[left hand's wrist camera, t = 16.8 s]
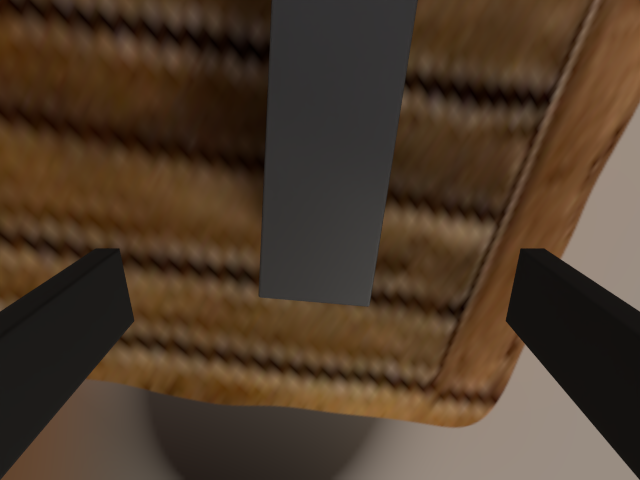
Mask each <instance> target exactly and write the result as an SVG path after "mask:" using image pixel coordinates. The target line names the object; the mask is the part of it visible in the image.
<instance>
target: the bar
mask: <svg viewBox="0 0 640 480" xmlns="http://www.w3.org/2000/svg"><path fill="white" fill-rule="evenodd" d="M417 2H418V0H272V6H271V28H270V51H269V73H268V96H267V119H266V141H265V164H264V187H263V209H262V232H261V255H260V277H259V297H262V298H274V299H285V300H297V301H309V302H321V303H332V304H344V305H356V306H367V307H368V306H369V305H370V299H371V293H372V287H373V280H374V274H375V268H376V261H377V255H378V249H379V243H380V236H381V230H382V224H383V217H384V211H385V205H386V198H387V192H388V186H389V179H390V173H391V167H392V160H393V154H394V148H395V141H396V135H397V129H398V122H399V116H400V110H401V103H402V97H403V91H404V84H405V78H406V72H407V65H408V59H409V53H410V46H411V40H412V34H413V27H414V21H415V15H416V8H417Z"/></svg>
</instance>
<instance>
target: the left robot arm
mask: <svg viewBox="0 0 640 480" xmlns="http://www.w3.org/2000/svg"><path fill="white" fill-rule="evenodd" d="M133 322H134V317H133V312H132V307H131V303H130V298H129V293H128V288H127V283H126V278H125V274H124V269H123V264H122V259H121V254H120V249H94V250H93V251H91V252H90V253H88V254H87V255H85V256H84V257H82V258H81V259H79V260H78V261H76V262H75V263H73V264H72V265H70V266H69V267H67V268H66V269H64V270H63V271H61V272H60V273H58V274H57V275H55V276H54V277H52V278H50V279H49V280H47V281H46V282H44V283H43V284H41V285H40V286H38V287H37V288H35V289H34V290H32V291H31V292H29V293H28V294H26V295H25V296H23V297H22V298H20V299H19V300H17V301H16V302H14V303H13V304H11V305H10V306H8V307H7V308H5V309H4V310H2V311H0V479H1V478H2V477H3V476H4V475H5V474H6V472H7V471H8V470H9V469H10V468H11V467H12V465H13V464H14V463H15V462H16V461H17V459H18V458H19V457H20V456H21V455H22V453H23V452H24V451H25V450H26V449H27V448H28V446H29V445H30V444H31V443H32V442H33V440H34V439H35V438H36V437H37V436H38V434H39V433H40V432H41V431H42V430H43V429H44V427H45V426H46V425H47V424H48V423H49V421H50V420H51V419H52V418H53V417H54V415H55V414H56V413H57V412H58V411H59V410H60V408H61V407H62V406H63V405H64V404H65V402H66V401H67V400H68V399H69V398H70V396H71V395H72V394H73V393H74V392H75V391H76V389H77V388H78V387H79V386H80V385H81V384H82V382H83V381H84V380H85V379H86V378H87V376H88V375H89V374H90V373H91V372H92V370H93V369H94V368H95V367H96V366H97V365H98V363H99V362H100V361H101V360H102V359H103V357H104V356H105V355H106V354H107V353H108V351H109V350H110V349H111V348H112V347H113V346H114V344H115V343H116V342H117V341H118V340H119V338H120V337H121V336H122V335H123V334H124V333H125V331H126V330H127V329H128V328H129V327H130V325H131V324H132V323H133ZM506 322H507V323H508V324H509V325H510V327H511V328H512V329H513V330H514V331H515V333H516V334H517V335H518V336H519V337H520V338H521V340H522V341H523V342H524V343H525V344H526V346H527V347H528V348H529V349H530V350H531V351H532V353H533V354H534V355H535V356H536V357H537V359H538V360H539V361H540V362H541V363H542V365H543V366H544V367H545V368H546V369H547V370H548V372H549V373H550V374H551V375H552V376H553V378H554V379H555V380H556V381H557V382H558V384H559V385H560V386H561V387H562V388H563V389H564V391H565V392H566V393H567V394H568V395H569V396H570V398H571V399H572V400H573V401H574V402H575V404H576V405H577V406H578V407H579V408H580V410H581V411H582V412H583V413H584V414H585V416H586V417H587V418H588V419H589V420H590V421H591V423H592V424H593V425H594V426H595V427H596V429H597V430H598V431H599V432H600V433H601V434H602V436H603V437H604V438H605V439H606V440H607V442H608V443H609V444H610V445H611V446H612V448H613V449H614V450H615V451H616V452H617V453H618V455H619V456H620V457H621V458H622V459H623V461H624V462H625V463H626V464H627V465H628V466H629V468H630V469H631V470H632V471H633V472H634V474H635V475H636V476H637V477H638V478H639V480H640V312H639V311H638V310H636V309H635V308H633V307H632V306H630V305H629V304H627V303H626V302H624V301H623V300H621V299H620V298H618V297H617V296H615V295H614V294H612V293H611V292H609V291H608V290H606V289H605V288H603V287H602V286H600V285H599V284H597V283H596V282H594V281H593V280H591V279H590V278H588V277H586V276H585V275H583V274H582V273H580V272H579V271H577V270H576V269H574V268H573V267H571V266H570V265H568V264H567V263H565V262H564V261H562V260H561V259H559V258H558V257H556V256H555V255H553V254H552V253H550V252H549V251H547V250H546V249H520V254H519V259H518V264H517V269H516V274H515V278H514V283H513V288H512V293H511V298H510V303H509V307H508V312H507V317H506Z"/></svg>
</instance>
